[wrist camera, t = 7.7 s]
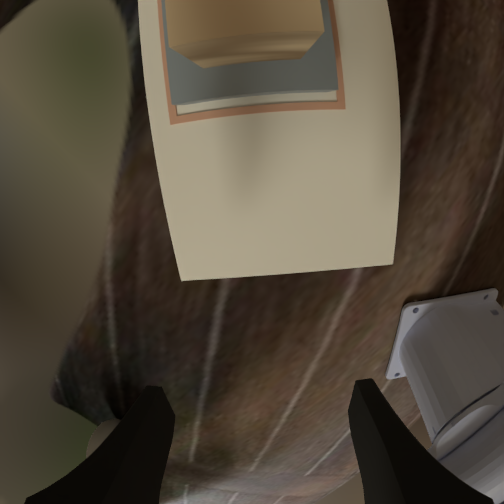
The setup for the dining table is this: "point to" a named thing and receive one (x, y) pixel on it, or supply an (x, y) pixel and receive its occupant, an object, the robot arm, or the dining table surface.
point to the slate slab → (253, 72)
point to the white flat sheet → (283, 160)
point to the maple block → (242, 29)
